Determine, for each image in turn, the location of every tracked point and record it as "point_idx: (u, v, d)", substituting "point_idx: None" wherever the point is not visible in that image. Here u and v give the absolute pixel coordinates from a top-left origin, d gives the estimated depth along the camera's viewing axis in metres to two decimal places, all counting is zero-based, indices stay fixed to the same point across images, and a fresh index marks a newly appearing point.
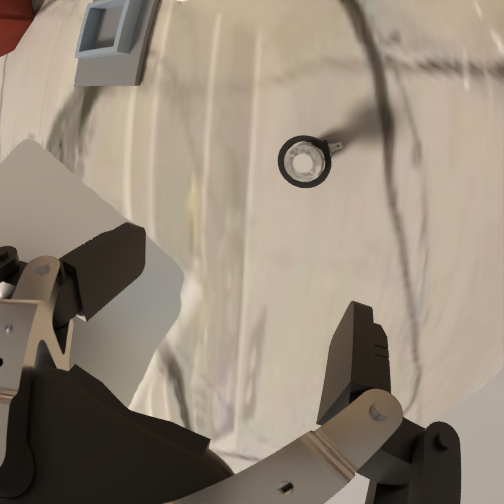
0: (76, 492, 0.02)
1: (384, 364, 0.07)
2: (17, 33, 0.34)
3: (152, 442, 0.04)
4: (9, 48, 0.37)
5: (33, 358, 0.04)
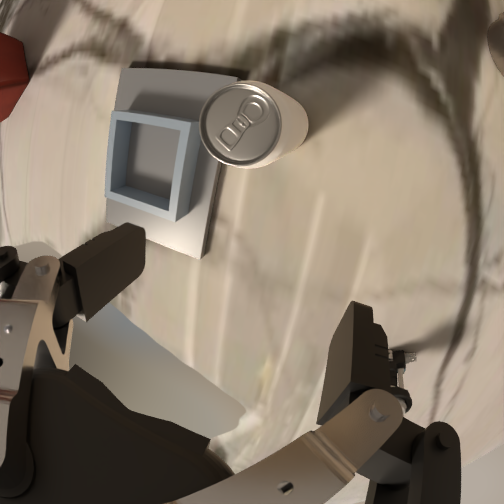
0: (76, 492, 0.02)
1: (384, 364, 0.07)
2: (10, 101, 0.33)
3: (152, 442, 0.04)
4: (2, 117, 0.36)
5: (33, 358, 0.04)
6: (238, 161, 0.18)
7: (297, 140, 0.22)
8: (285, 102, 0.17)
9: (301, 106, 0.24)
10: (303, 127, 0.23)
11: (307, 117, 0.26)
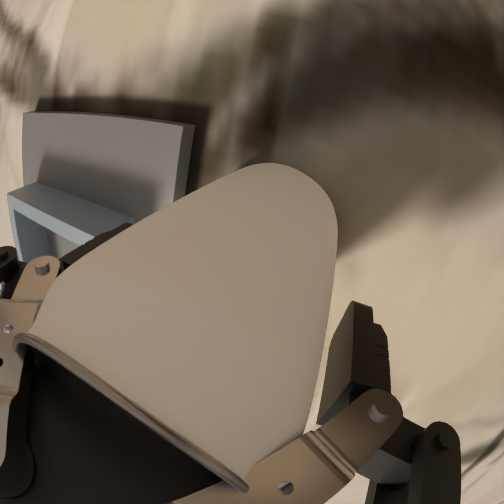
0: (76, 492, 0.02)
1: (384, 364, 0.07)
2: None
3: None
4: None
5: (33, 358, 0.04)
6: None
7: None
8: (281, 392, 0.04)
9: (326, 204, 0.11)
10: None
11: (336, 219, 0.12)
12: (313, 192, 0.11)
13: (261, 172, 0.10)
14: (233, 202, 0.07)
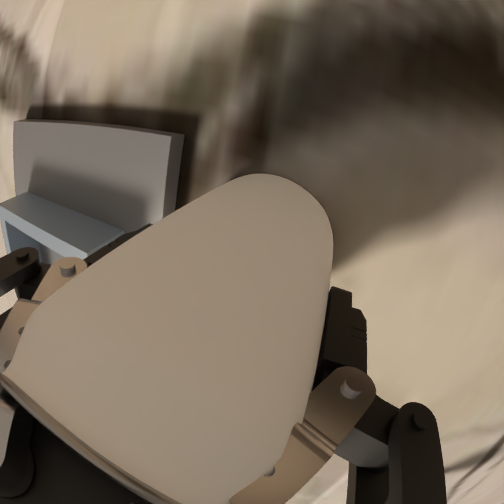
0: (76, 492, 0.02)
1: (361, 346, 0.07)
2: None
3: None
4: None
5: None
6: None
7: None
8: (262, 442, 0.03)
9: (321, 218, 0.11)
10: (326, 308, 0.09)
11: None
12: (307, 206, 0.10)
13: (251, 186, 0.10)
14: (216, 225, 0.06)
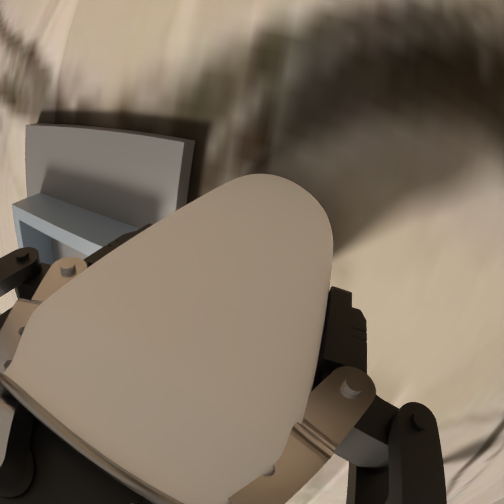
0: (76, 492, 0.02)
1: (361, 346, 0.07)
2: None
3: None
4: None
5: None
6: None
7: None
8: (262, 441, 0.03)
9: (321, 218, 0.11)
10: None
11: None
12: (307, 206, 0.10)
13: (251, 186, 0.10)
14: (217, 225, 0.06)
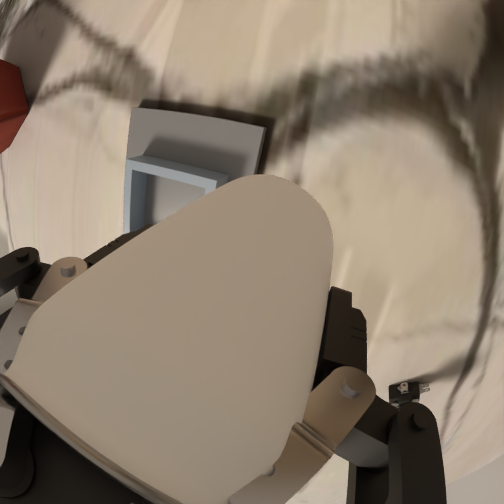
0: (76, 492, 0.02)
1: (361, 346, 0.07)
2: (10, 132, 0.34)
3: None
4: (3, 148, 0.36)
5: None
6: None
7: None
8: (262, 442, 0.03)
9: (321, 218, 0.11)
10: None
11: None
12: (307, 207, 0.10)
13: (251, 187, 0.10)
14: (217, 227, 0.06)
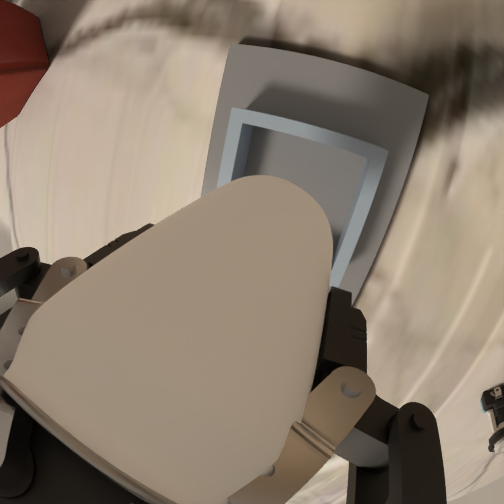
0: (76, 492, 0.02)
1: (361, 346, 0.07)
2: (21, 92, 0.24)
3: None
4: (10, 116, 0.27)
5: None
6: None
7: None
8: (261, 444, 0.03)
9: (320, 219, 0.11)
10: None
11: (331, 234, 0.12)
12: (306, 207, 0.10)
13: (251, 187, 0.10)
14: (216, 228, 0.06)
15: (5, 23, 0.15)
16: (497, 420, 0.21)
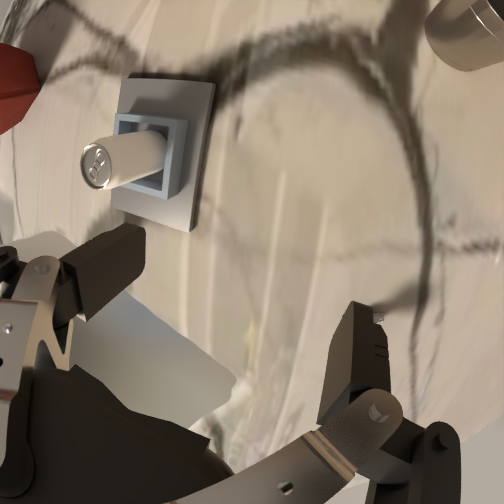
0: (76, 492, 0.02)
1: (384, 364, 0.07)
2: (23, 106, 0.41)
3: (152, 442, 0.04)
4: (16, 121, 0.43)
5: (33, 358, 0.04)
6: (98, 186, 0.30)
7: (143, 166, 0.33)
8: (118, 149, 0.28)
9: (159, 138, 0.35)
10: (152, 155, 0.34)
11: None
12: (154, 135, 0.35)
13: (140, 131, 0.35)
14: (124, 134, 0.31)
15: (10, 62, 0.31)
16: None
